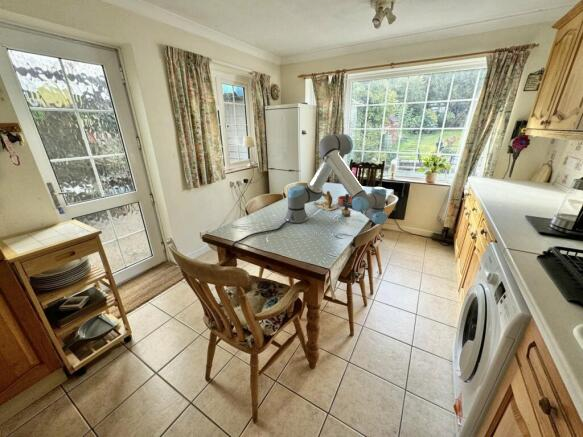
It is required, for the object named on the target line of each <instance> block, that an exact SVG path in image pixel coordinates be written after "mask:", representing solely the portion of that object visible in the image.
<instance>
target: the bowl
mask: <svg viewBox="0 0 583 437" xmlns="http://www.w3.org/2000/svg"><path fill="white" fill-rule="evenodd" d="M343 199H345V195H340V196H338V197H337V205H339V206H342V207H343ZM352 201H353V200H352V198H351V197H350V195H349V202H350V203H352Z"/></svg>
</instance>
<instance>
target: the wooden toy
mask: <svg viewBox="0 0 583 437" xmlns="http://www.w3.org/2000/svg"><path fill="white" fill-rule="evenodd" d="M322 193H323V195H322V198H324V200H321V201H320V202H317V201H313V204H315V205H316V207H317V208H320V209H322V210H326V211H328V212H331V211H334V210H338V209H339V208H338V206H334V205H332V204H333V196H332V194H331V192H330V190H327V191H326V192H324V191H323V192H322Z"/></svg>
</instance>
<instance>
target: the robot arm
mask: <svg viewBox="0 0 583 437" xmlns="http://www.w3.org/2000/svg"><path fill="white" fill-rule="evenodd" d="M353 148H354V141H353V139H352V137H351V136H350V135H349V134H345V133H339V134H327V135H324V136H323V137H322V138H321V140H320V141H319V144H318V152H319V155H320V158H321V159H322V161H321V162H320V164H319V167H317V169H316V172H315V173H314V175H313V177H312V179H311V180H309V181H308V182H307V183H306V185H305V186H303V185H293V186H290V187H289V188H288V189H287V194H286V195H287V212H286V215H285V221H284V222H283V223H282V224H281V225H280V226H279V227H277V228H273V229H269V230H264V231H259V232H253V233H250V234H247V235H246V236H244V237H241V239H237V240H235V241H234V242H233V243H232V245H231V248H234V247H235V245H236V244H237V243H239V242H243V241H244V240H246V239H248V238H249V237H251V236H254V235H259V234H265V233H270V232H276V231H279V230H280V229H281V228H282V227H283V226H285V225H286V224H287V223H291V224H303V223H305V222H307V221H308V214H307V212H306V209H305V207H306V205H305V204H309V203H314V202H317V201H319V200H321V199H322V198H323V196H322V195H323V193H324V188H323V187H324V184H326V182H327V180H328V178H329V177H330V175H331V173H332V172H333V173H334V175H335V177H336V178H337V179H338V181H339V182H340V183H341V185H342V187H343V188H344V189H345V191H346V192H347V194H349V196H350V197H351V198H352V200H353V201H352V203H350V202H348V201H346V200H345V199H343V206H342V207H343V208H345V207H346V208H348V209H349V210H350V209H351V211H352V210H353V211H355V212H358V213H360V214H361V215H363V216H365V217H366V218H367V219H369V220H370V221H372V223H374V224H376V225H378V226H379V225H383V224H385V223H386V222H387V220H388V215H387V213H386V212H385V207H386V206H385V205H386V198H387V189H386V188H385V187H382V186H374V187H372V188H371V191H370V193H367V191H366V190H365V189H364V187H363V186H362V185H361V183H360V182H359V181H358V179H357V177H356V176H355V175H354V174H353V172H352V171H351V169H350V167H349V166H348V165H347V164H346V162H345V161H344V160H343V159H344V158H345V156H346V155H349V154H350V153H351V152H352V151H353ZM322 192H323V193H322Z"/></svg>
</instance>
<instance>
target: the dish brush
mask: <svg viewBox="0 0 583 437" xmlns="http://www.w3.org/2000/svg"><path fill="white" fill-rule="evenodd" d="M344 196H345V200H346V201H348V202H349V196H350V195H349V194H348V193H345V195H344ZM351 212H352V209H351V210H350V208H346V207H343V208H341V215H342V216H343V217H344V218H348V217H349V218H350V217H351V214H352V213H351Z"/></svg>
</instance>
